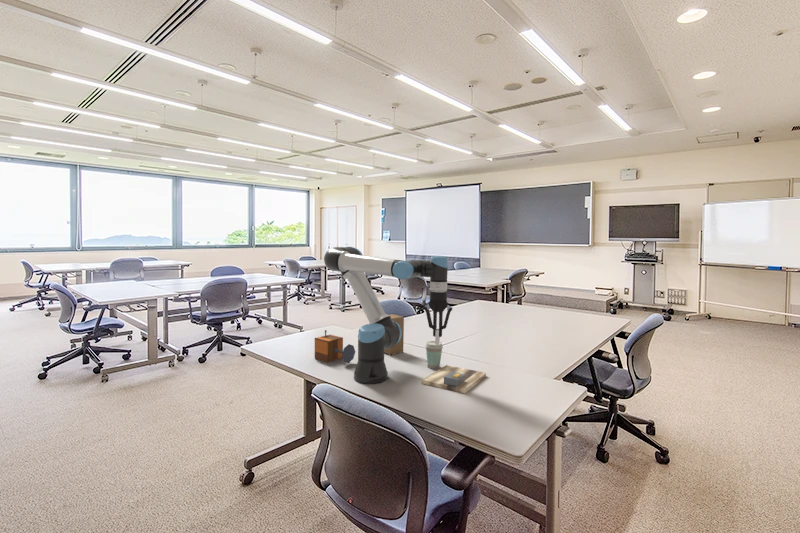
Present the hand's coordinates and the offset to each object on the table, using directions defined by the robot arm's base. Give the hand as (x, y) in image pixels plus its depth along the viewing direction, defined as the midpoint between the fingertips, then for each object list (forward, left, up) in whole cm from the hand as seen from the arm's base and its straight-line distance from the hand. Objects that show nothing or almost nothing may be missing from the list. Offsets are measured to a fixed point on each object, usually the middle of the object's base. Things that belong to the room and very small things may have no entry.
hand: (437, 343), depth 172 cm
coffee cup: (-9, +14, -16) cm, 23 cm away
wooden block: (-41, +25, -16) cm, 50 cm away
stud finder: (+10, -4, -14) cm, 18 cm away
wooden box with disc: (-56, -5, -16) cm, 58 cm away
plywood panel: (+7, +4, -16) cm, 18 cm away
